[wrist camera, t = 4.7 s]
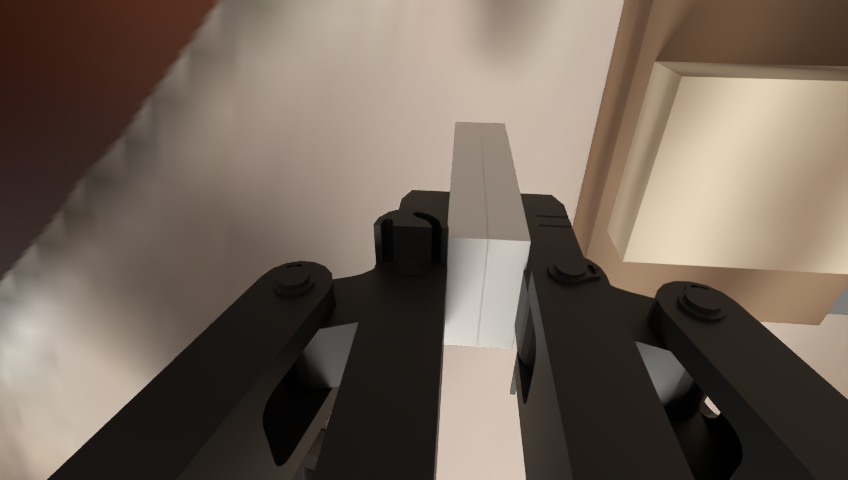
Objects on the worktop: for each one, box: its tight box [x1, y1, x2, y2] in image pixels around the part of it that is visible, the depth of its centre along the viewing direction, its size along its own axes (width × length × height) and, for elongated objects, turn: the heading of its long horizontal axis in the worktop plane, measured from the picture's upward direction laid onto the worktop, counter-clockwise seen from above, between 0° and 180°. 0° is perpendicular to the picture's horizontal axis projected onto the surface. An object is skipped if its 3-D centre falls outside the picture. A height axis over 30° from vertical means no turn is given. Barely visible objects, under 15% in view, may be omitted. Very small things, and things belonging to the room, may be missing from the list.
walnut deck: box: [573, 0, 848, 325], centre depth 15 cm, size 10×14×2 cm
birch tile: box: [607, 61, 848, 274], centre depth 14 cm, size 9×6×2 cm, turn 89°
